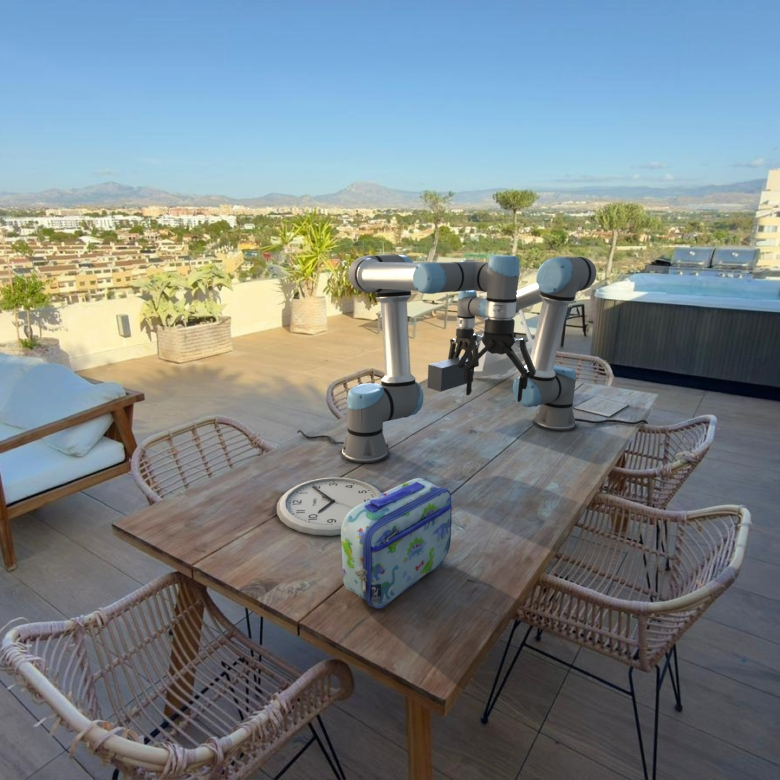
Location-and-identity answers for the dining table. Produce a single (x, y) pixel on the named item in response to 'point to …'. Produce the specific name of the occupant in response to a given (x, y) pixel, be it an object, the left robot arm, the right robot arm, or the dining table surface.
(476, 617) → the dining table surface
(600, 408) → the invitation card
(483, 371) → the white plastic object
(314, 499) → the wall clock
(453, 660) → the dining table surface
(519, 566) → the dining table surface
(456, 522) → the dining table surface
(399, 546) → the lunch box
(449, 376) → the box
